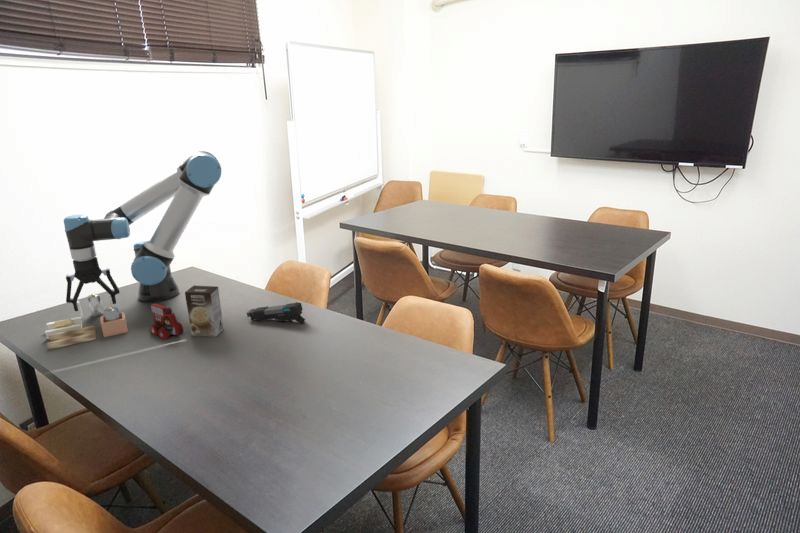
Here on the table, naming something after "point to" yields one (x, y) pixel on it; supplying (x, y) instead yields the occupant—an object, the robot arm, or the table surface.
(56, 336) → the trough
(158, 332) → the toy fire truck
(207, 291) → the coffee box
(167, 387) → the table surface
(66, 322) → the tan flat square block
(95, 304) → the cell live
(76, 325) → the cradle
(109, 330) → the square hollow tube
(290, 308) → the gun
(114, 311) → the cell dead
